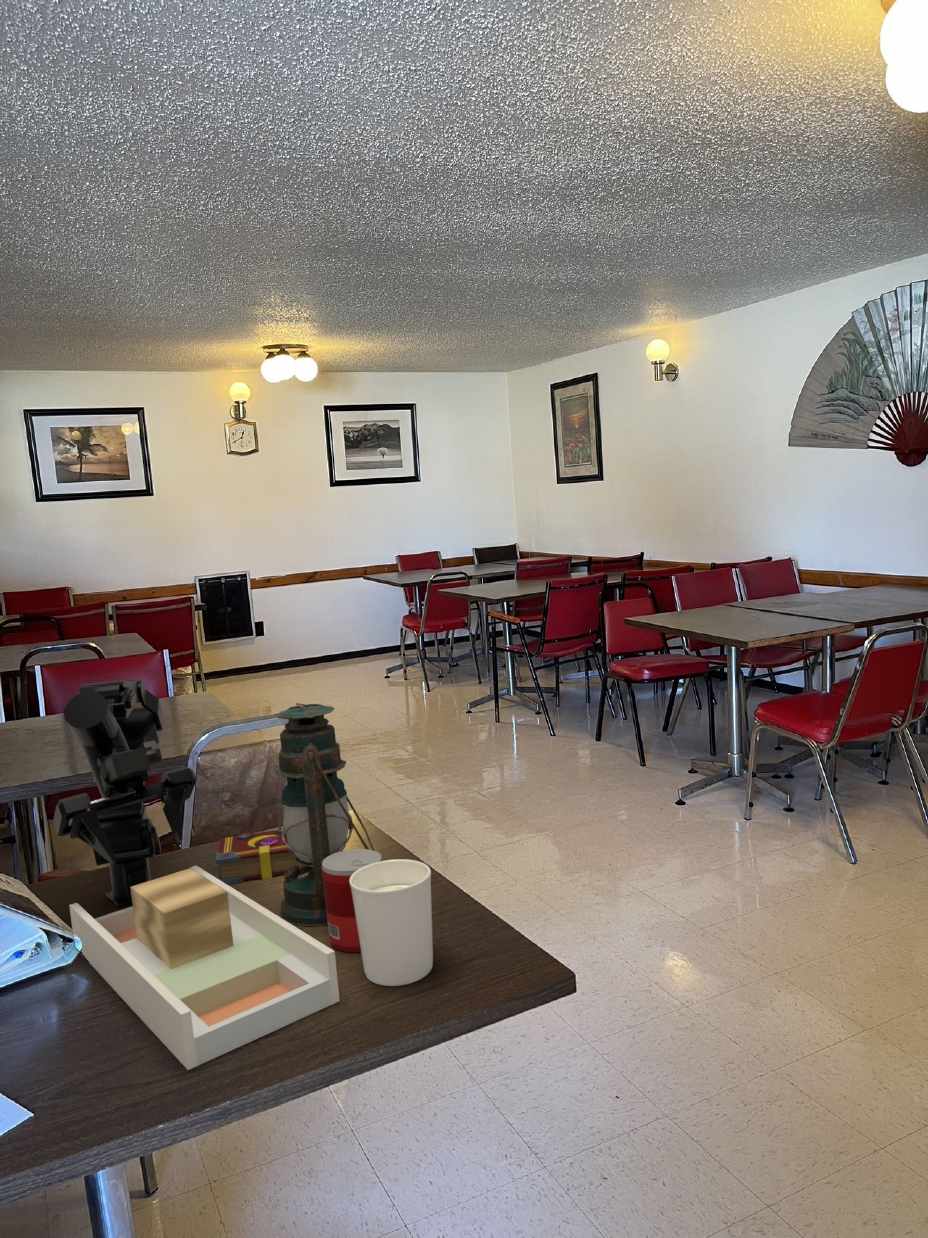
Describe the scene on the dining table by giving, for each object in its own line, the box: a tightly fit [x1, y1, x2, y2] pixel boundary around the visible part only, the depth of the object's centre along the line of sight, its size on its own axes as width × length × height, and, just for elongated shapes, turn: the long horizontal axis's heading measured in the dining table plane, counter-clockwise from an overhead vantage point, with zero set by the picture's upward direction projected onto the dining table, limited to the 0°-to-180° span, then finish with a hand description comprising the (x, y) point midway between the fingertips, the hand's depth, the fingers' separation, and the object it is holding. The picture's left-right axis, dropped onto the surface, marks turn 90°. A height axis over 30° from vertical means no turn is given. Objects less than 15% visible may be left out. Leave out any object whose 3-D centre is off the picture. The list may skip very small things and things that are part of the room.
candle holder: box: [349, 858, 434, 987], centre depth 109 cm, size 10×10×12 cm
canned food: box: [322, 848, 384, 953], centre depth 117 cm, size 8×8×11 cm
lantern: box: [275, 702, 376, 927], centre depth 128 cm, size 19×14×30 cm
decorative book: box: [215, 826, 306, 885], centre depth 147 cm, size 11×16×5 cm
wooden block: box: [130, 867, 233, 969], centre depth 114 cm, size 12×8×7 cm, turn 39°
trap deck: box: [69, 865, 341, 1071], centre depth 112 cm, size 40×18×6 cm, turn 39°
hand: (148, 851), depth 122 cm, fingers open, 9 cm apart
